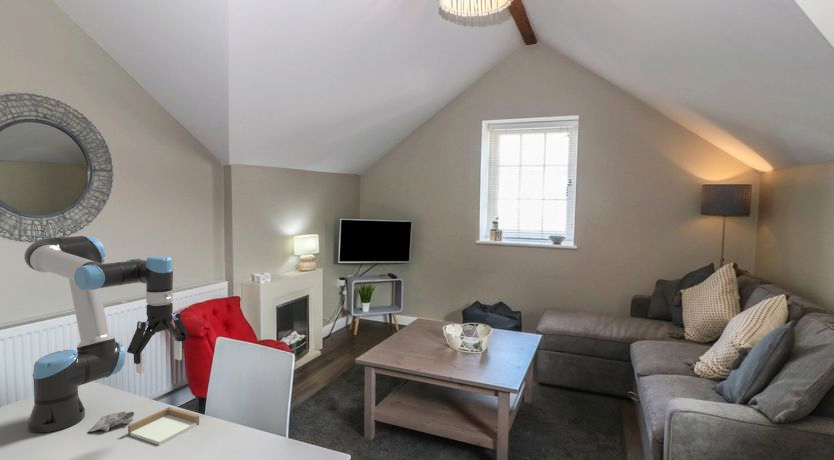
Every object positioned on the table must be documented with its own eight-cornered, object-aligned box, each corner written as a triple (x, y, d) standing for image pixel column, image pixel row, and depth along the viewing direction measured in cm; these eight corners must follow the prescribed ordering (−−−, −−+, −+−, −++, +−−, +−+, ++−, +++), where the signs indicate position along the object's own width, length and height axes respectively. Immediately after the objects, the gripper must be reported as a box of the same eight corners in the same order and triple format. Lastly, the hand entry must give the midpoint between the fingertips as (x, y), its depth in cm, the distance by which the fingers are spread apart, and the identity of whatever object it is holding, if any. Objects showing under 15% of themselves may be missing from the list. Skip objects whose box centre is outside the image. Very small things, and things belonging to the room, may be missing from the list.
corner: (128, 434, 144) (127, 425, 144) (169, 415, 158) (168, 407, 157) (159, 445, 138) (159, 435, 138) (199, 424, 151) (199, 415, 151)
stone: (127, 430, 146) (126, 418, 145) (86, 434, 144) (85, 422, 143) (136, 420, 152) (135, 409, 152) (97, 424, 150) (96, 413, 150)
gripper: (129, 312, 131) (130, 381, 133) (199, 297, 154) (199, 356, 156) (113, 309, 134) (114, 376, 136) (184, 294, 157) (184, 352, 159)
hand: (159, 365), depth 146 cm, fingers open, 13 cm apart
